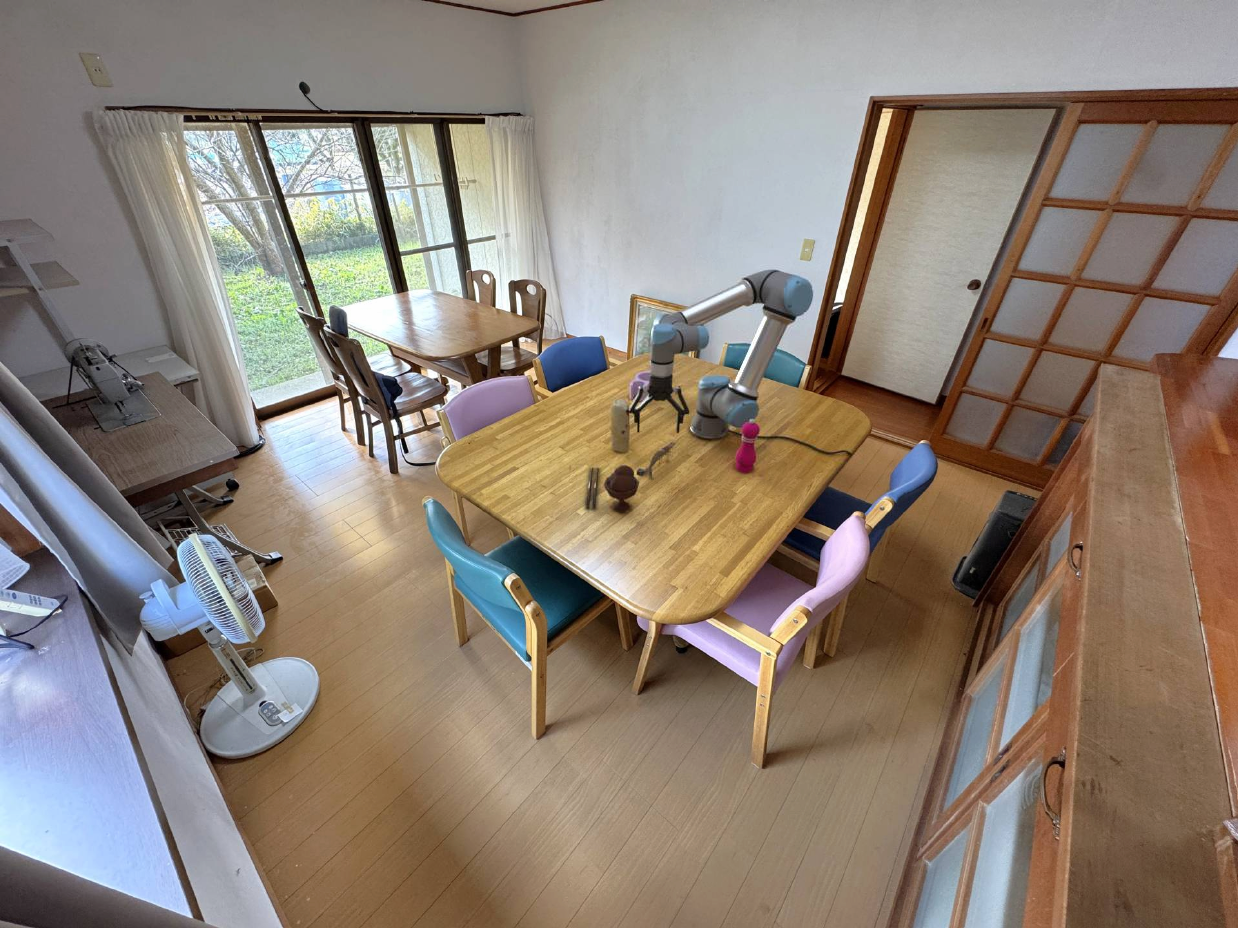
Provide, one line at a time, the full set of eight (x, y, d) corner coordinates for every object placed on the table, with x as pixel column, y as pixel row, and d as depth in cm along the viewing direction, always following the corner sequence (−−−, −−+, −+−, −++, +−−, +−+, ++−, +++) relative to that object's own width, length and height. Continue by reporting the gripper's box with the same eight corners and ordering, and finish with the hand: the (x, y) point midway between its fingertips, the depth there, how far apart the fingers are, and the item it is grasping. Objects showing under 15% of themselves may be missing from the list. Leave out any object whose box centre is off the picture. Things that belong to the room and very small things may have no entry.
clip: (646, 403, 217) (646, 389, 213) (622, 397, 223) (622, 383, 219) (666, 387, 231) (667, 374, 227) (644, 382, 237) (644, 368, 233)
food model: (633, 452, 183) (634, 405, 172) (617, 456, 181) (616, 408, 170) (623, 440, 190) (623, 394, 179) (607, 443, 188) (606, 397, 177)
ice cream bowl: (603, 497, 160) (602, 460, 151) (636, 496, 160) (637, 458, 152) (605, 518, 151) (604, 479, 142) (640, 516, 152) (641, 477, 143)
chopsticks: (598, 469, 174) (598, 467, 173) (595, 509, 155) (594, 507, 154) (590, 469, 174) (590, 467, 173) (586, 509, 155) (585, 507, 154)
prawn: (662, 447, 186) (663, 432, 182) (689, 457, 180) (690, 441, 176) (625, 478, 169) (625, 461, 165) (653, 489, 163) (653, 472, 159)
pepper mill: (742, 475, 170) (751, 426, 159) (729, 465, 175) (737, 417, 164) (758, 470, 173) (768, 421, 162) (745, 460, 178) (753, 412, 167)
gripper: (698, 369, 158) (692, 426, 169) (622, 368, 158) (622, 425, 170) (701, 378, 151) (695, 437, 163) (622, 377, 152) (621, 435, 163)
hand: (657, 431), depth 166 cm, fingers open, 13 cm apart
